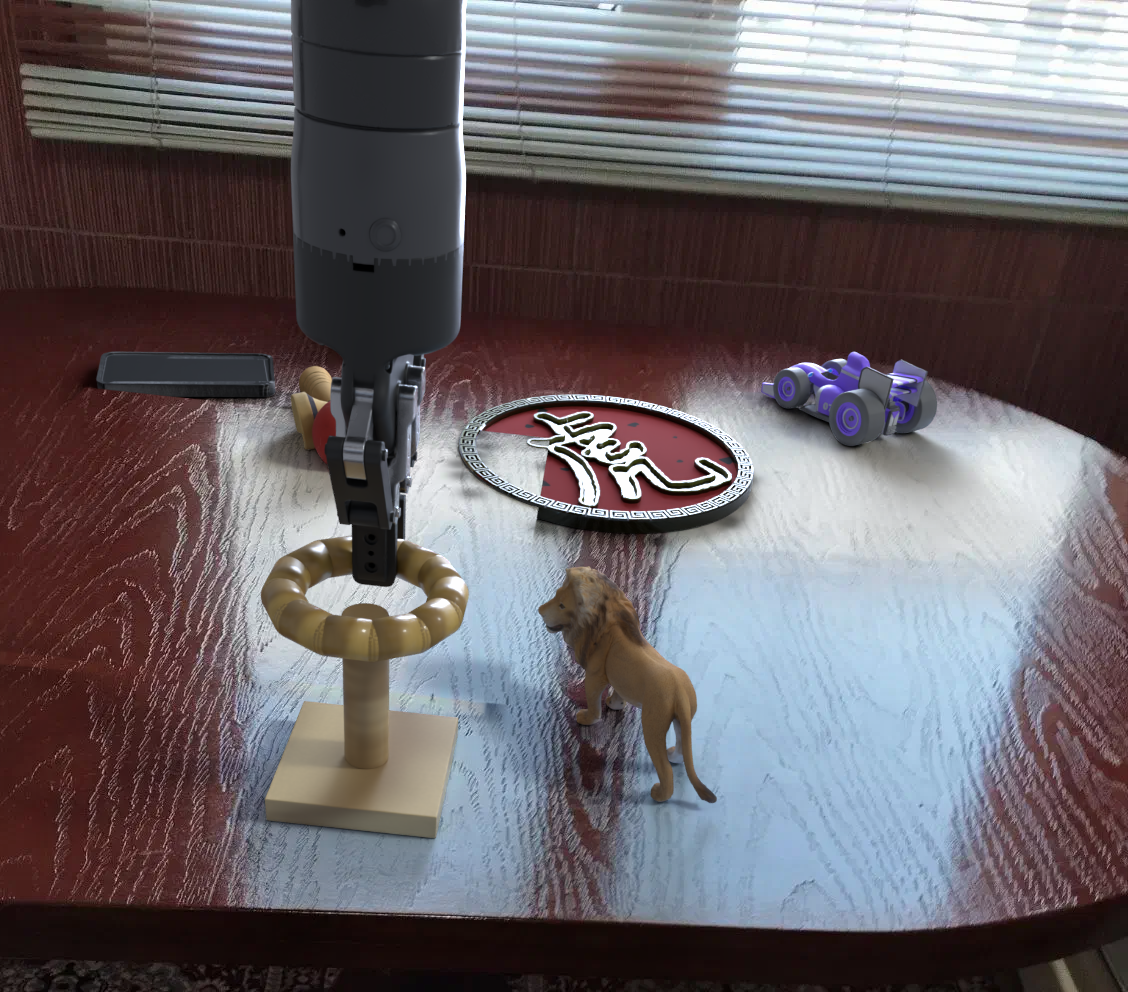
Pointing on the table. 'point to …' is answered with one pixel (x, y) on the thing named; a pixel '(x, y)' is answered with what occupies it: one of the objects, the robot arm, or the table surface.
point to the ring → (359, 634)
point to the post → (364, 758)
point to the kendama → (314, 409)
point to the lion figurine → (626, 670)
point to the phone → (188, 374)
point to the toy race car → (858, 397)
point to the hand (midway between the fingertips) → (379, 569)
